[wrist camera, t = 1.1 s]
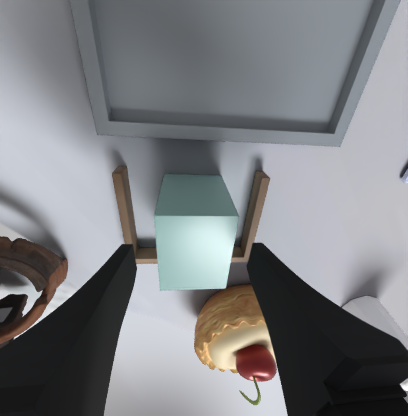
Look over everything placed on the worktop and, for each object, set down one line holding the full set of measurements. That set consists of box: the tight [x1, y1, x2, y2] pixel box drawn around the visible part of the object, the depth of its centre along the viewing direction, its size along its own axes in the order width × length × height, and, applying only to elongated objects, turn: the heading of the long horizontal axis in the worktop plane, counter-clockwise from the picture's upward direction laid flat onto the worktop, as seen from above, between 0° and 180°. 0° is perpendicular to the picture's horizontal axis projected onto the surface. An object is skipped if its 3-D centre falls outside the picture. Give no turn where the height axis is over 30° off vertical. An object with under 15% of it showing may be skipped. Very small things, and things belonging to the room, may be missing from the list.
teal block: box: [154, 174, 239, 291], centre depth 14 cm, size 4×6×6 cm
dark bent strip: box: [112, 166, 270, 264], centre depth 17 cm, size 11×9×2 cm
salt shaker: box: [342, 295, 408, 391], centre depth 23 cm, size 5×5×11 cm
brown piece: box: [0, 237, 68, 348], centre depth 17 cm, size 12×10×8 cm
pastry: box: [194, 284, 277, 405], centre depth 22 cm, size 12×12×9 cm
